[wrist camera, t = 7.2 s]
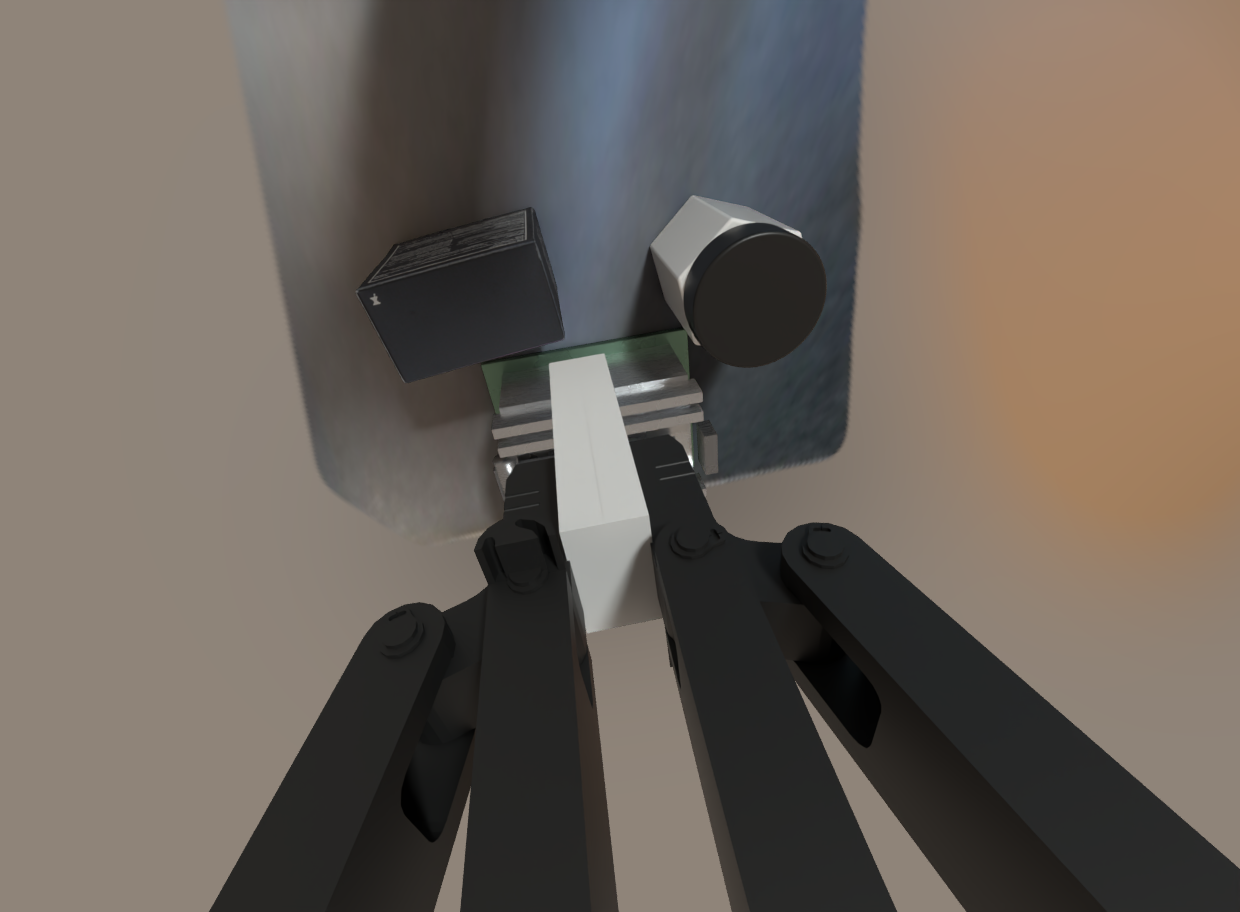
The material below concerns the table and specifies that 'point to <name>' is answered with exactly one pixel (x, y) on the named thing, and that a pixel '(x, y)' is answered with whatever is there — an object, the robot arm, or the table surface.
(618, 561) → the robot arm
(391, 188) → the table surface
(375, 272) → the small box
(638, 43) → the table surface
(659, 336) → the heatsink
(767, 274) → the jar
